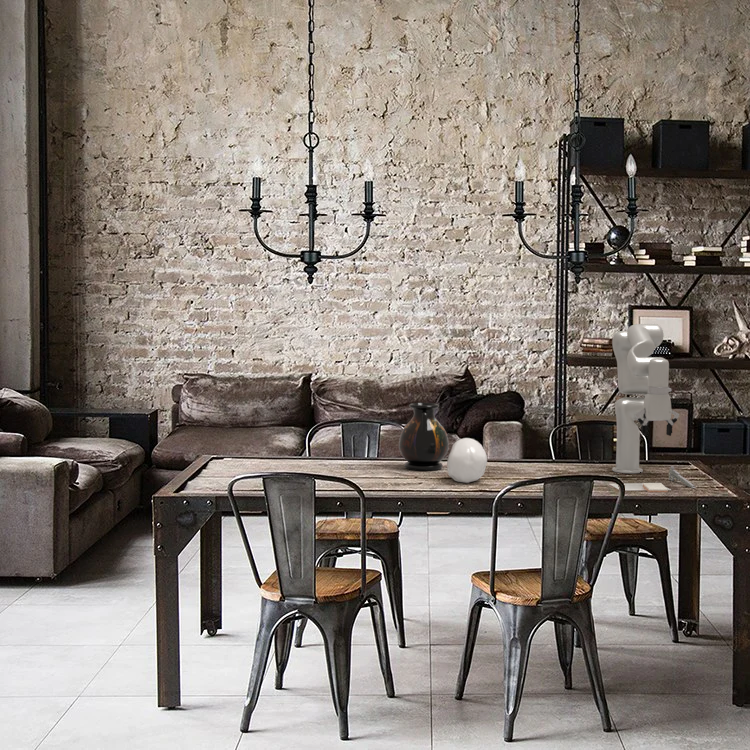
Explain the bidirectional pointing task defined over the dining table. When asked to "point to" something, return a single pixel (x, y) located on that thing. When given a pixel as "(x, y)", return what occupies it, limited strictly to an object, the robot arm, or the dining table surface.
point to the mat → (631, 486)
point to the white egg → (466, 460)
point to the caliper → (678, 477)
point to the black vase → (423, 439)
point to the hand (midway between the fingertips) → (656, 435)
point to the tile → (654, 487)
